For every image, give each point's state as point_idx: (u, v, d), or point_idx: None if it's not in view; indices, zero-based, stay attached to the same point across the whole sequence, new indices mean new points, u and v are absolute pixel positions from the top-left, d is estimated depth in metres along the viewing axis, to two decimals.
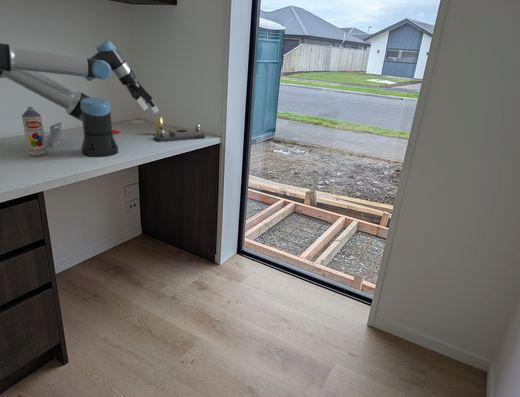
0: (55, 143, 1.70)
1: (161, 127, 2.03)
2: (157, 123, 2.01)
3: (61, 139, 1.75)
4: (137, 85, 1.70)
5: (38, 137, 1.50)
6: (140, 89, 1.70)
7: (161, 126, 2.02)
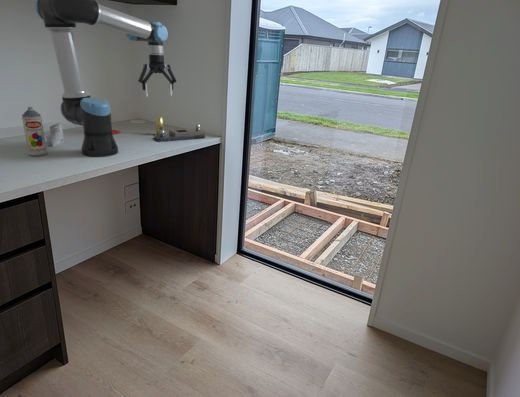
0: (55, 143, 1.70)
1: (161, 127, 2.03)
2: (157, 123, 2.01)
3: (61, 139, 1.75)
4: None
5: (38, 137, 1.50)
6: None
7: (161, 126, 2.02)
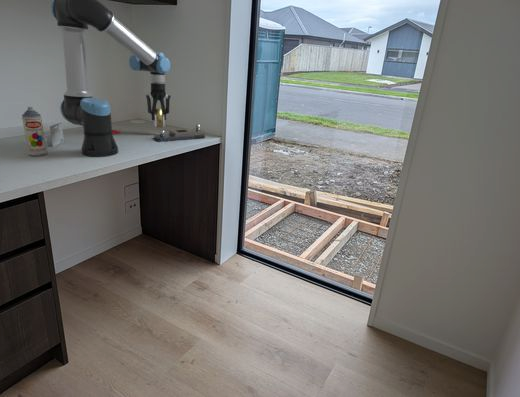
0: (55, 143, 1.70)
1: (160, 119, 2.01)
2: (156, 114, 1.99)
3: (61, 139, 1.75)
4: None
5: (38, 137, 1.50)
6: None
7: (160, 118, 2.00)
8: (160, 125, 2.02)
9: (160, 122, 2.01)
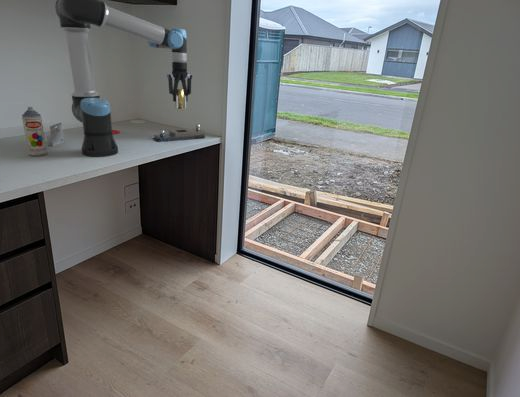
0: (55, 143, 1.70)
1: (182, 100, 1.92)
2: (178, 95, 1.91)
3: (61, 139, 1.75)
4: None
5: (38, 137, 1.50)
6: None
7: (182, 99, 1.92)
8: (182, 106, 1.93)
9: (182, 103, 1.93)
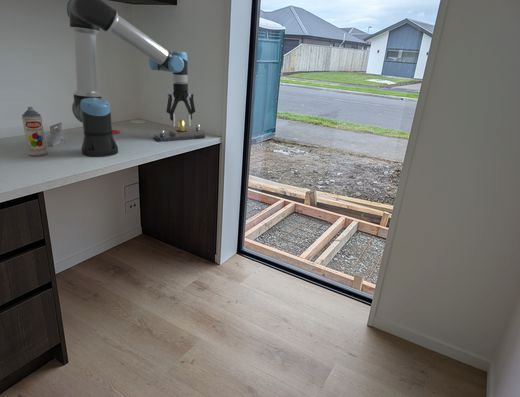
0: (55, 143, 1.70)
1: (183, 130, 1.98)
2: (179, 126, 1.97)
3: (61, 139, 1.75)
4: None
5: (38, 137, 1.50)
6: None
7: (183, 129, 1.98)
8: None
9: None
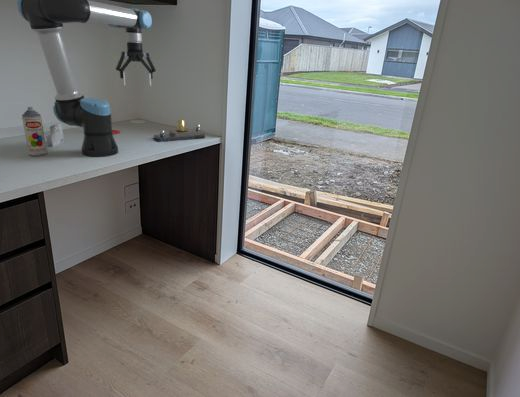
0: (55, 143, 1.70)
1: (183, 130, 1.98)
2: (179, 126, 1.97)
3: (61, 139, 1.75)
4: None
5: (38, 137, 1.50)
6: None
7: (183, 129, 1.98)
8: None
9: None
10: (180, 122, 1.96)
